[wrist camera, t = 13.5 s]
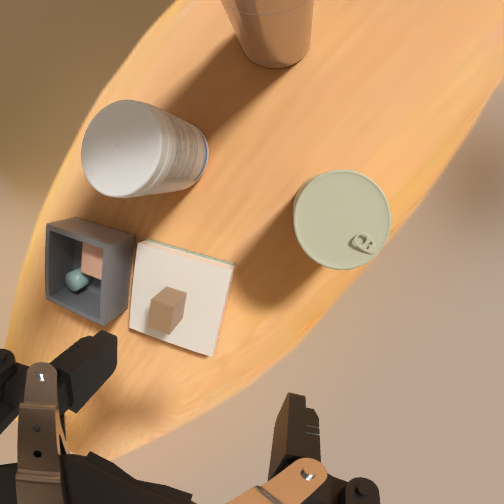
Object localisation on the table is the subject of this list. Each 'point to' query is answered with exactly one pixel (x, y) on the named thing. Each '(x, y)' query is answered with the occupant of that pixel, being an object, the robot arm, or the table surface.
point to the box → (88, 268)
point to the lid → (179, 296)
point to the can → (341, 219)
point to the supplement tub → (142, 151)
